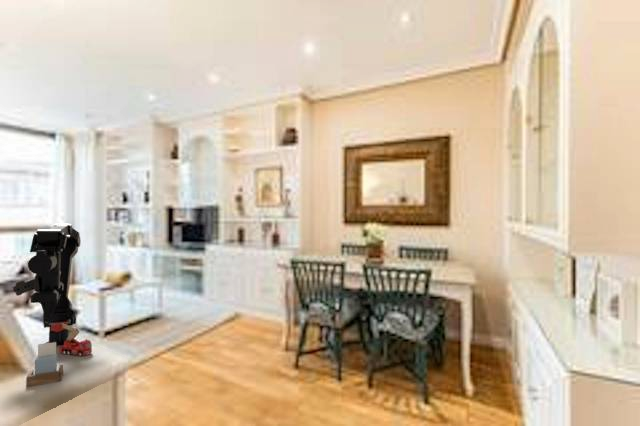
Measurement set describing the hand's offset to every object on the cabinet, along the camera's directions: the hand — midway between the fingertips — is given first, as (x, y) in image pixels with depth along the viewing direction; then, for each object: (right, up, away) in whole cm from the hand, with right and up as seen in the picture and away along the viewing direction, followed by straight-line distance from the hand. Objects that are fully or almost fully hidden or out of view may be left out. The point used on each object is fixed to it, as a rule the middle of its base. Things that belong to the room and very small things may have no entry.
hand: (47, 318), depth 114 cm
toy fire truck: (+3, -13, +6) cm, 15 cm away
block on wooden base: (+9, -13, -12) cm, 20 cm away
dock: (+7, -13, -10) cm, 18 cm away
